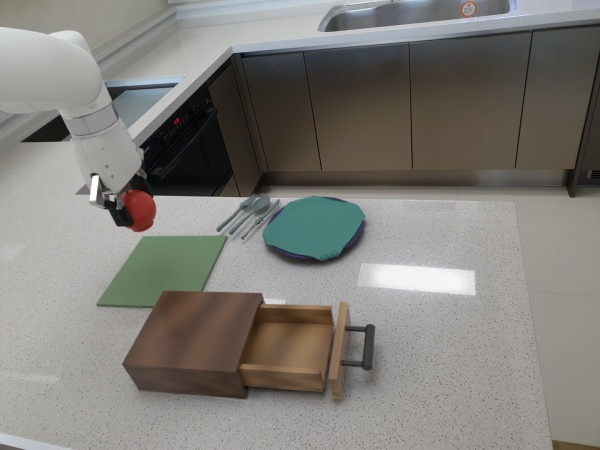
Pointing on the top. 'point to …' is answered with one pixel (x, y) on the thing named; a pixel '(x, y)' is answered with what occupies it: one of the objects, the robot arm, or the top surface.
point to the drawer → (301, 348)
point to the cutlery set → (306, 226)
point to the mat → (163, 269)
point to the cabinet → (194, 343)
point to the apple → (139, 209)
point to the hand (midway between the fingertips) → (135, 211)
